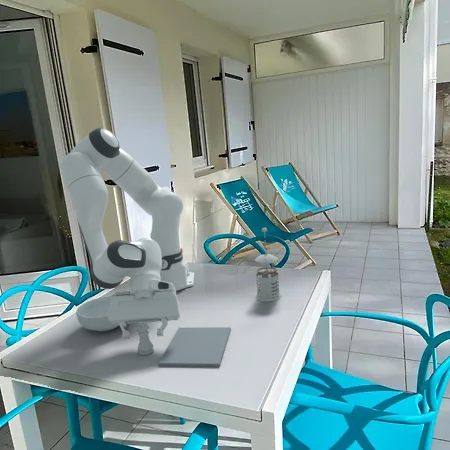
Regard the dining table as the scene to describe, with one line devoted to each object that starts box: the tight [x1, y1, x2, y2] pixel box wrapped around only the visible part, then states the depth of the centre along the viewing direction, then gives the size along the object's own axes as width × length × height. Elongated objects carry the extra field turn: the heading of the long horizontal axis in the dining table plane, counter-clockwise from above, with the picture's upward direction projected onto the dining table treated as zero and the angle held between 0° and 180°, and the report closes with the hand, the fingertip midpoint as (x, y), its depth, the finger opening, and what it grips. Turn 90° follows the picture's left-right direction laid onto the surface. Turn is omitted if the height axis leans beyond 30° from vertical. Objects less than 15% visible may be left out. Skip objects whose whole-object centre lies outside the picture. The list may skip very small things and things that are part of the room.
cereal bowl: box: [75, 295, 120, 332], centre depth 130 cm, size 17×17×7 cm
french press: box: [254, 227, 283, 302], centre depth 143 cm, size 10×12×25 cm
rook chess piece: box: [136, 322, 155, 356], centre depth 112 cm, size 4×4×8 cm
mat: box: [158, 326, 232, 368], centre depth 113 cm, size 20×16×1 cm
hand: (142, 337), depth 111 cm, fingers open, 8 cm apart
